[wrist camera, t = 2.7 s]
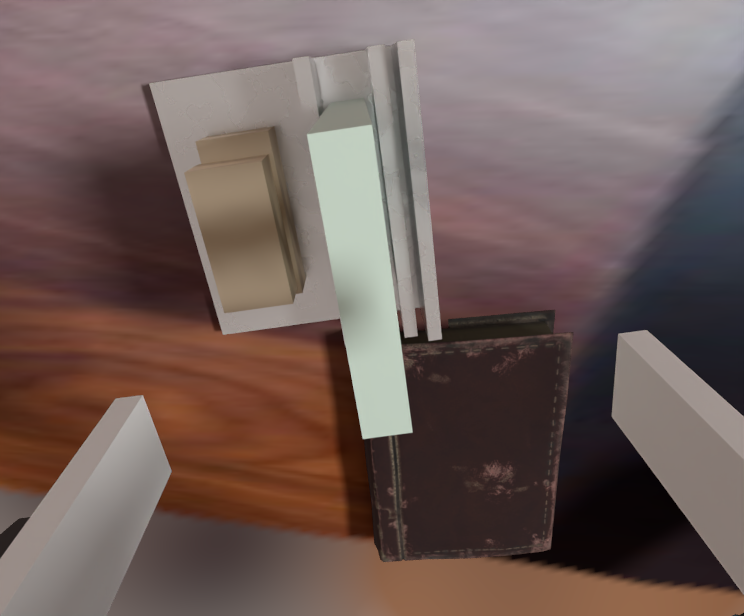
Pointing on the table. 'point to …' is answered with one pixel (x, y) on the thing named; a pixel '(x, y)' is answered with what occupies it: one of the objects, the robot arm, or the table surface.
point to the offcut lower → (263, 144)
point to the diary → (474, 441)
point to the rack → (292, 123)
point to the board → (361, 264)
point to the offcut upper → (243, 232)
